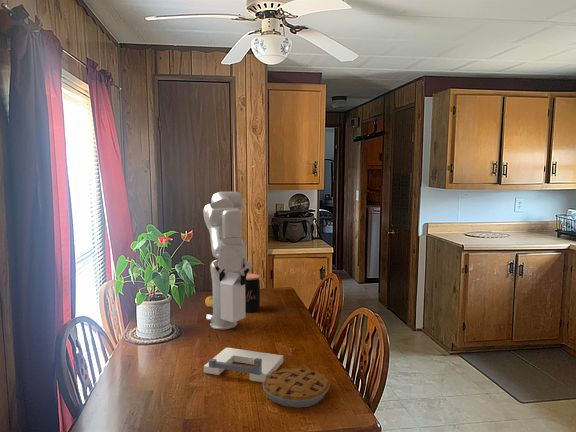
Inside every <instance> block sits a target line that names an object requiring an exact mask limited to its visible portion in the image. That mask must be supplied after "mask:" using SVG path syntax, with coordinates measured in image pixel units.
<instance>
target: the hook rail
mask: <svg viewBox="0 0 576 432" xmlns="http://www.w3.org/2000/svg"><path fill="white" fill-rule="evenodd" d="M208 362H209V367H211V368H220V369H225V370H229V371H234V372H241V373H248V374H250V373H252V374H255V375H260V374H261V373H262V359H259V358H256V359H255V360H254V365H253V366H251V365H249V366H248V365H243V364H237V363H233V362H232V363H225V362H218V361H216V359H213V357H212V358H209V359H208Z"/></svg>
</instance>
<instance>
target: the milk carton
mask: <svg viewBox="0 0 576 432" xmlns="http://www.w3.org/2000/svg"><path fill="white" fill-rule="evenodd" d="M220 298H221V319H223V320H227V321H230V322H235V321H236V322H237V321H241V320H243V319H246V312H245V284H244V285H241V278H240V277H239V274H238V273H233V272H227V271H226V275H225V276H224V278H223V279H222V281H221V282H220Z"/></svg>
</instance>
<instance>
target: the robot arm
mask: <svg viewBox="0 0 576 432" xmlns="http://www.w3.org/2000/svg"><path fill="white" fill-rule="evenodd" d="M243 198H244V197H243V196H242V194H241V192H239V191H219V192H215V193H213V195H212V197H211V199H210V200H211V203H208V204H206V205H205V206H204V207H203V219H204V223H205V226H206V227H207V229H208V231H209V236H210V245H211V247H210V248H211V253H212V256H213V258H215V260H213V261H211V262H210V267H209V268H210V276H211V283H212V296H213V308H212V314H208V313H207V314H206V315H205V316H206V318H205V320H206V321H210V323H209V326H210V329H211V328H212V329H215V330H230V329H233V328H235V327H236V326H237V325H238V322H237V321H235V322H230V321H227V320H223V319H221V298H220V282H221V281H222V279H223V278H224V276H225V275H226V271H227V272H233V273H238V274H239V277H240V278H241V285H244V284H245V283H246V276H247V275H248V274H249V273H250V271H251V269H252V267H253V263H252V262H249V261H248V257H247V249H246V244H245V242H244V240H243V237H242V236H243V235H242V230H243V229H242V228H243V227H242V222H243V219H244V216H243V212H242V209H243V207H244V199H243Z"/></svg>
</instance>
